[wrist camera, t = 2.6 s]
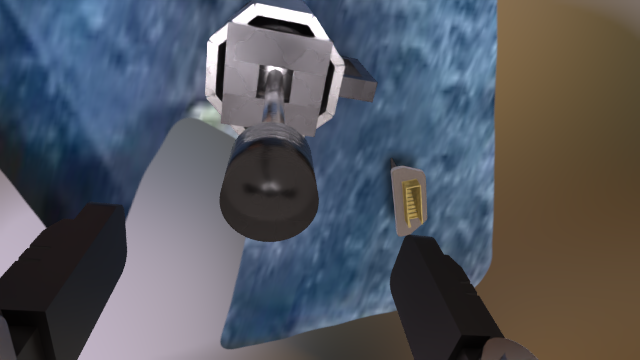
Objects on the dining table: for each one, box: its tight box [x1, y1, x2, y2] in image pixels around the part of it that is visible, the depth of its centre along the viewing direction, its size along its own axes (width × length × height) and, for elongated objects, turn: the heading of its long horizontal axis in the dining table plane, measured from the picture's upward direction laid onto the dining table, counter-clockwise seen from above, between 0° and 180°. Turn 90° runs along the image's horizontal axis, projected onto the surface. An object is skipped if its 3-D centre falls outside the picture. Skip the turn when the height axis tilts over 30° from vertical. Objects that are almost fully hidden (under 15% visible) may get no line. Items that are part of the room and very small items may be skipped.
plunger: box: [220, 24, 319, 242], centre depth 21 cm, size 7×7×18 cm
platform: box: [391, 158, 427, 236], centre depth 47 cm, size 12×18×6 cm, turn 10°
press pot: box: [205, 0, 377, 137], centre depth 33 cm, size 10×13×15 cm
